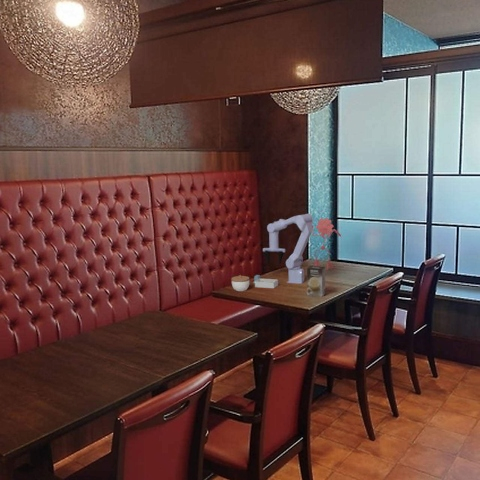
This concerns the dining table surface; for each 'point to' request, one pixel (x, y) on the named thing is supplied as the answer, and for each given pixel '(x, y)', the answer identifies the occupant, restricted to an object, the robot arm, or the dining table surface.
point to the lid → (256, 278)
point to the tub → (266, 283)
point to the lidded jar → (240, 283)
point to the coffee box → (316, 281)
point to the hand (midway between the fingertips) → (274, 262)
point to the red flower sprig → (324, 228)
